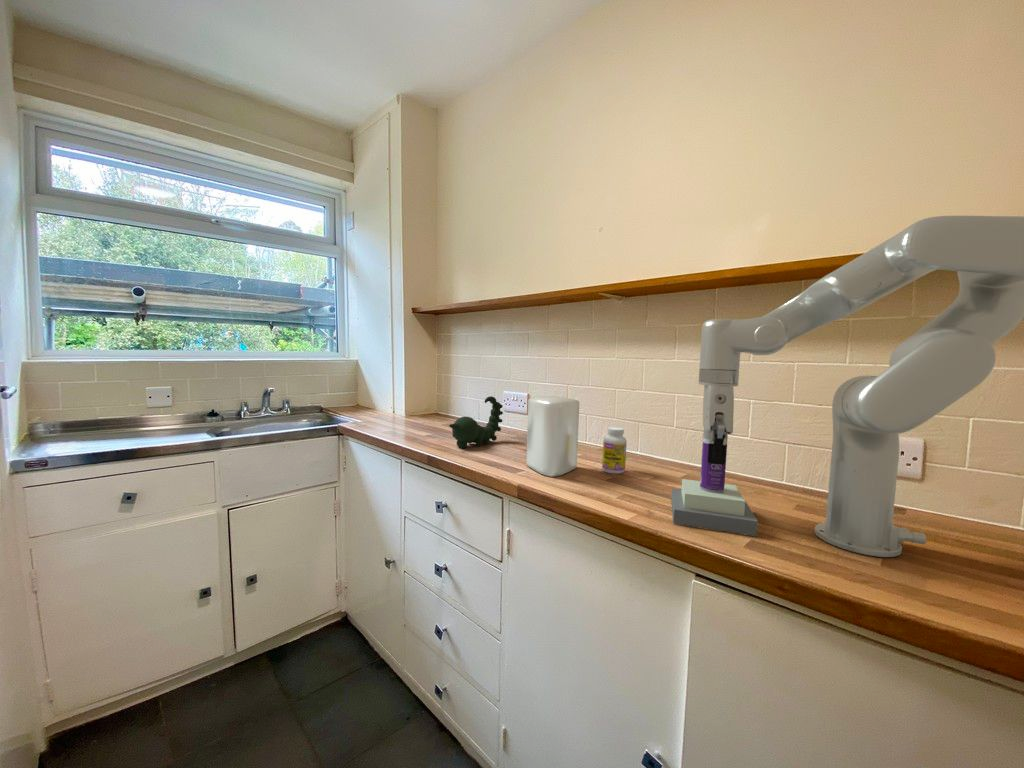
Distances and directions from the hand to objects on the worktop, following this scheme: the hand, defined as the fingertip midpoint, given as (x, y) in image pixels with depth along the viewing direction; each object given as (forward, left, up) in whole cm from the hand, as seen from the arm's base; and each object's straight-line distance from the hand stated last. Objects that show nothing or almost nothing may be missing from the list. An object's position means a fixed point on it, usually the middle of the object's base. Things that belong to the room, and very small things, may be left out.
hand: (713, 458), depth 88 cm
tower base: (0, 0, -13) cm, 13 cm away
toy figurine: (+74, -40, -13) cm, 85 cm away
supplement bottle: (+23, -27, -13) cm, 38 cm away
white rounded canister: (+40, -19, -13) cm, 46 cm away
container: (0, 0, -7) cm, 7 cm away
